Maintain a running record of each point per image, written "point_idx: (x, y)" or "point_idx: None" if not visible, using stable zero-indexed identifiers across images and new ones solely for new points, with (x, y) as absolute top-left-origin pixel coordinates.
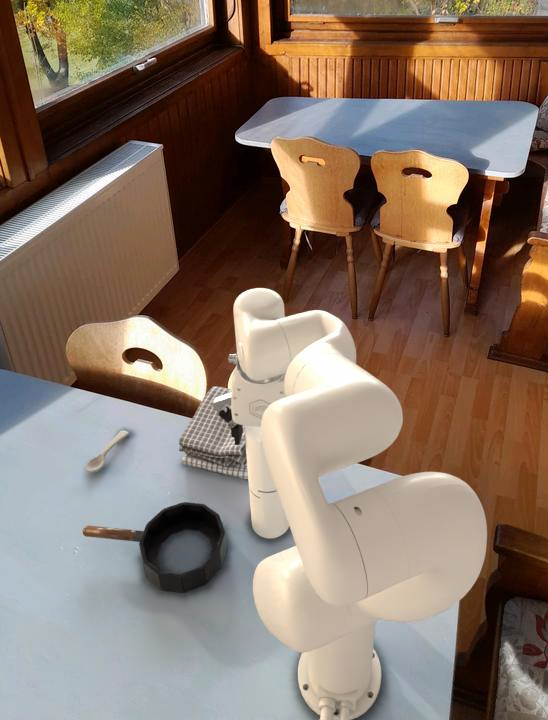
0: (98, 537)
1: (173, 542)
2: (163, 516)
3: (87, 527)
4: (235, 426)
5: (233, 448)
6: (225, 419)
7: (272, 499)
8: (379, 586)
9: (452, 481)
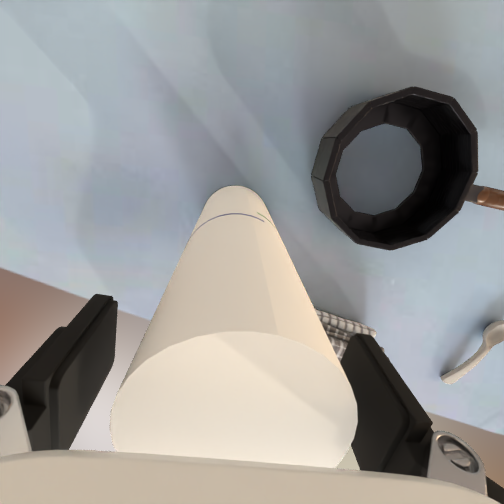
0: None
1: (394, 194)
2: (423, 228)
3: None
4: (418, 436)
5: None
6: (500, 493)
7: (228, 207)
8: None
9: None
